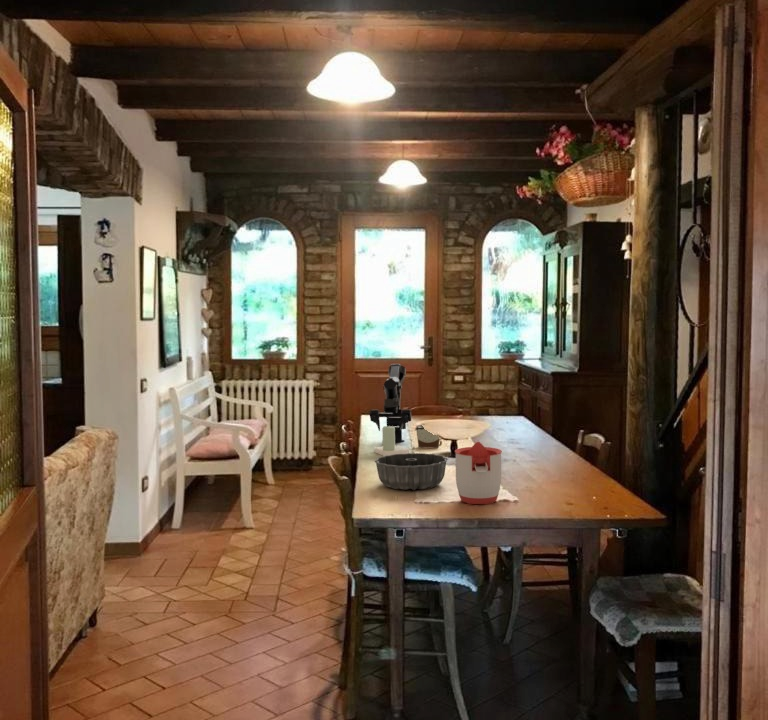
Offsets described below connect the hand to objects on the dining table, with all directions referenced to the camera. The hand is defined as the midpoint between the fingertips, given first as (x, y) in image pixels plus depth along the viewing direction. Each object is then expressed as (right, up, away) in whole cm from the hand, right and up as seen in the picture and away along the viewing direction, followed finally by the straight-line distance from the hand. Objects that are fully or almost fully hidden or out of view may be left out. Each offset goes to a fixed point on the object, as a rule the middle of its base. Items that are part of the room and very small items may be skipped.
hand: (389, 430), depth 350 cm
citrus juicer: (+29, -16, -90) cm, 96 cm away
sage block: (0, -8, -2) cm, 9 cm away
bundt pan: (+8, -15, -65) cm, 67 cm away
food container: (+19, -9, +15) cm, 26 cm away
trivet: (+1, -10, +1) cm, 10 cm away
